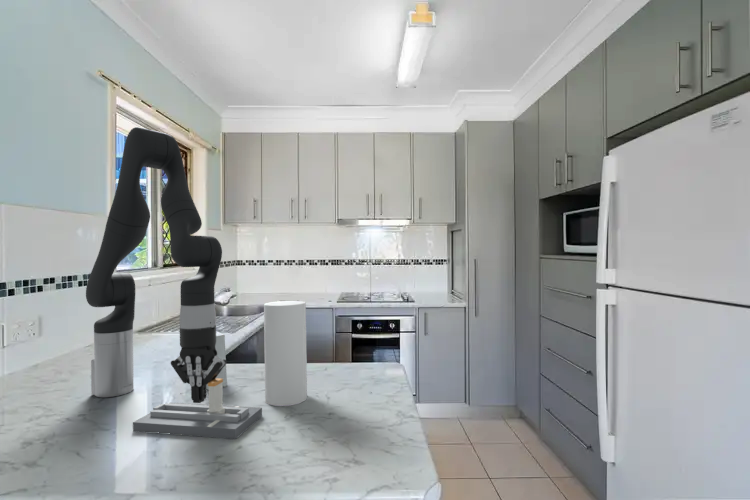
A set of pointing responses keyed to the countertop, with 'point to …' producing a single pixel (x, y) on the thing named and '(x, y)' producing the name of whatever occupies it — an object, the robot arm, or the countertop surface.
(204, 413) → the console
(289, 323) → the tall pillar cylinder
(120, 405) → the countertop surface
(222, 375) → the skincare box
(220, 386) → the fader tab
